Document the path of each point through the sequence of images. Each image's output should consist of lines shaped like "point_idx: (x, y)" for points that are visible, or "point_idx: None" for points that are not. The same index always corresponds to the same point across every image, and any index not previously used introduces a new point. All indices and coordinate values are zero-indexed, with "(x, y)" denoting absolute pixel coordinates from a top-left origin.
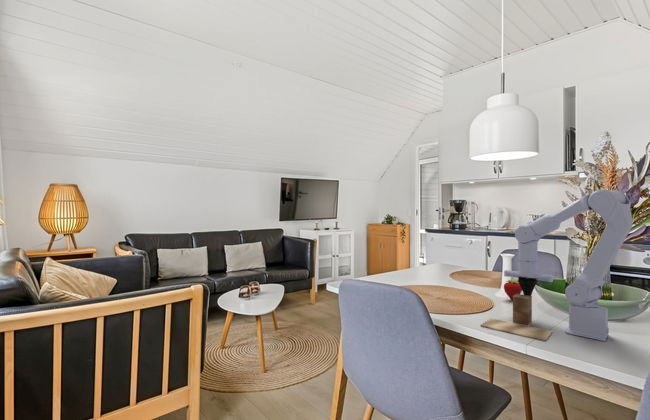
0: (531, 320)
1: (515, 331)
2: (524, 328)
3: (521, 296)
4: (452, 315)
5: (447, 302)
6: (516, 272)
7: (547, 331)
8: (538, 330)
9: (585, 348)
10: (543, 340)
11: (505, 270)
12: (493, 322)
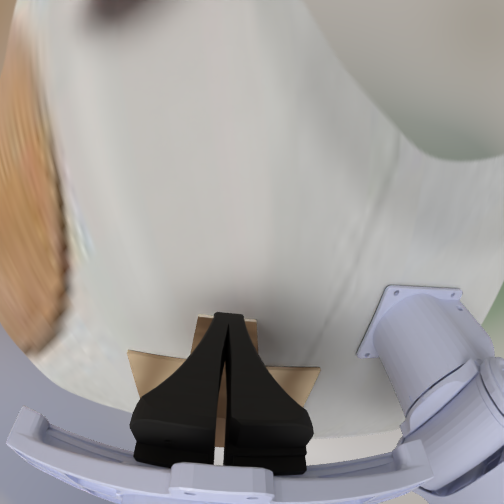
0: (256, 330)
1: None
2: None
3: (217, 437)
4: (51, 355)
5: None
6: (110, 492)
7: (306, 377)
8: (282, 383)
9: (369, 402)
10: None
11: (14, 450)
12: (154, 381)
